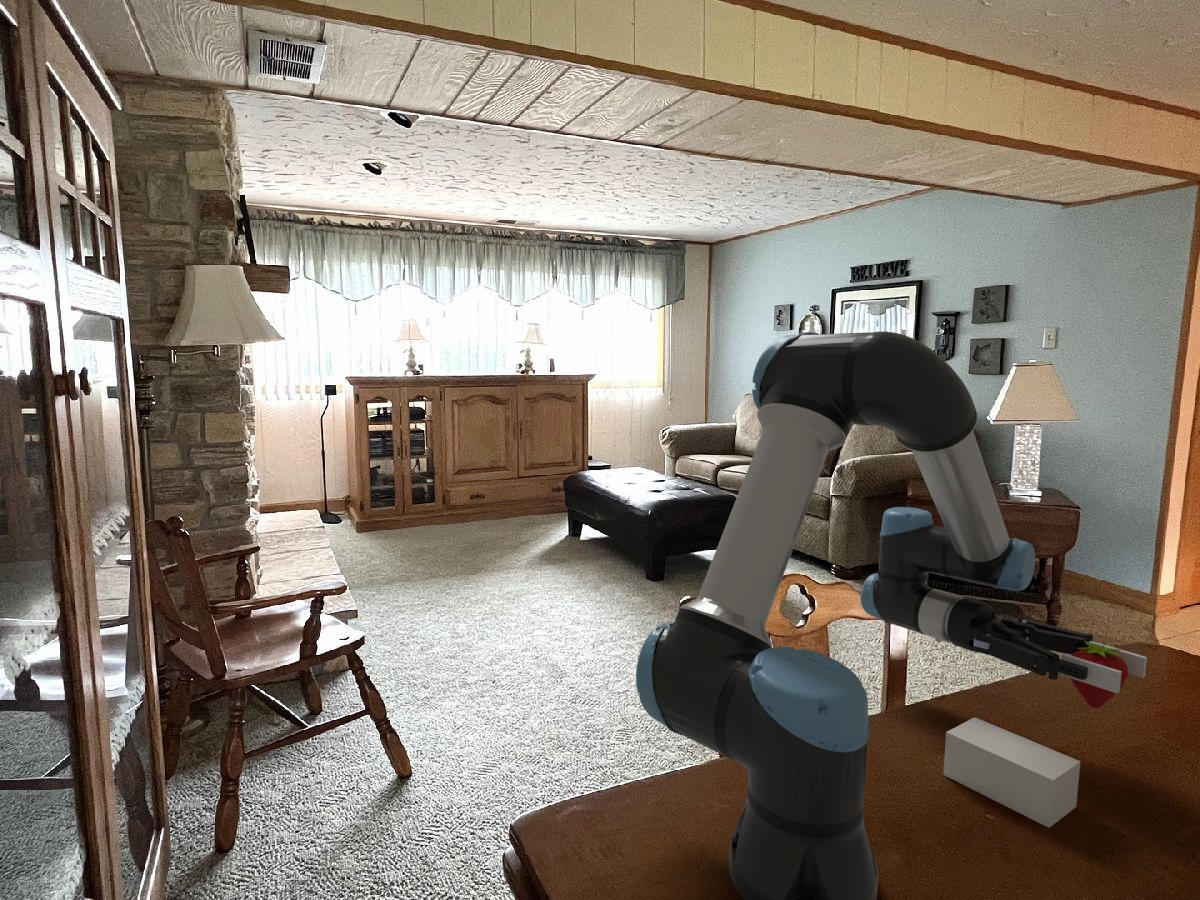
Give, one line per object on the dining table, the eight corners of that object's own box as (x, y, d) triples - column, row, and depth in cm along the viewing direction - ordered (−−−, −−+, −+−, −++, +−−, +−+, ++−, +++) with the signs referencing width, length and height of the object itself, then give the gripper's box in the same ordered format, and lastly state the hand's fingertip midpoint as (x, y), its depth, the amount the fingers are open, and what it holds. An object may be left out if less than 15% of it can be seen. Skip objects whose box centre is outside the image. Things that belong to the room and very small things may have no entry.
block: (1049, 827, 84) (1053, 780, 83) (943, 774, 95) (946, 732, 94) (1076, 807, 88) (1080, 761, 87) (971, 758, 99) (974, 717, 98)
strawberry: (1051, 699, 97) (1057, 629, 96) (1096, 694, 99) (1103, 625, 98) (1090, 721, 92) (1097, 646, 90) (1136, 714, 93) (1145, 641, 92)
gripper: (990, 630, 116) (1159, 683, 98) (918, 658, 105) (1094, 724, 86) (993, 586, 115) (1165, 630, 97) (922, 609, 104) (1101, 664, 85)
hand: (1132, 674), depth 91 cm, fingers closed on strawberry, 7 cm apart
